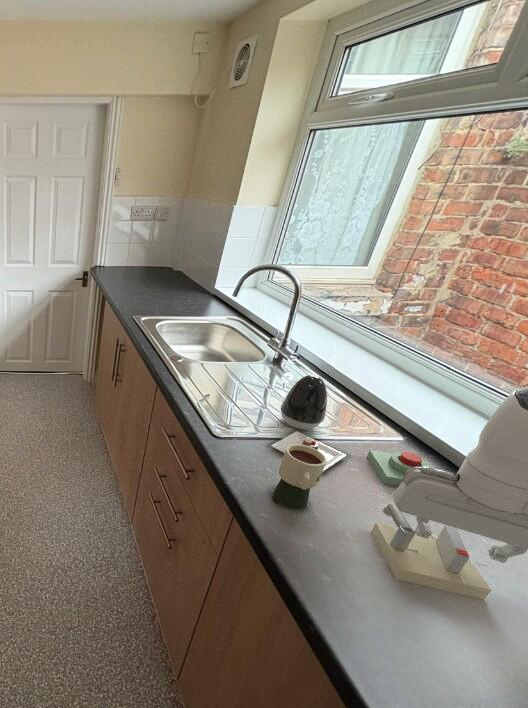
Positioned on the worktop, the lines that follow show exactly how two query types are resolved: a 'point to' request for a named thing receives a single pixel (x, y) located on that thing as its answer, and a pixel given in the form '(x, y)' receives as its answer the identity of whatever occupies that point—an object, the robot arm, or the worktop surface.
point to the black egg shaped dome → (305, 403)
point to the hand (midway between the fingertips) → (457, 546)
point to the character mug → (298, 475)
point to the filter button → (410, 459)
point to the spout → (399, 528)
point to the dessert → (302, 439)
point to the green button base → (390, 466)
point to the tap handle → (452, 549)
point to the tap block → (428, 564)
